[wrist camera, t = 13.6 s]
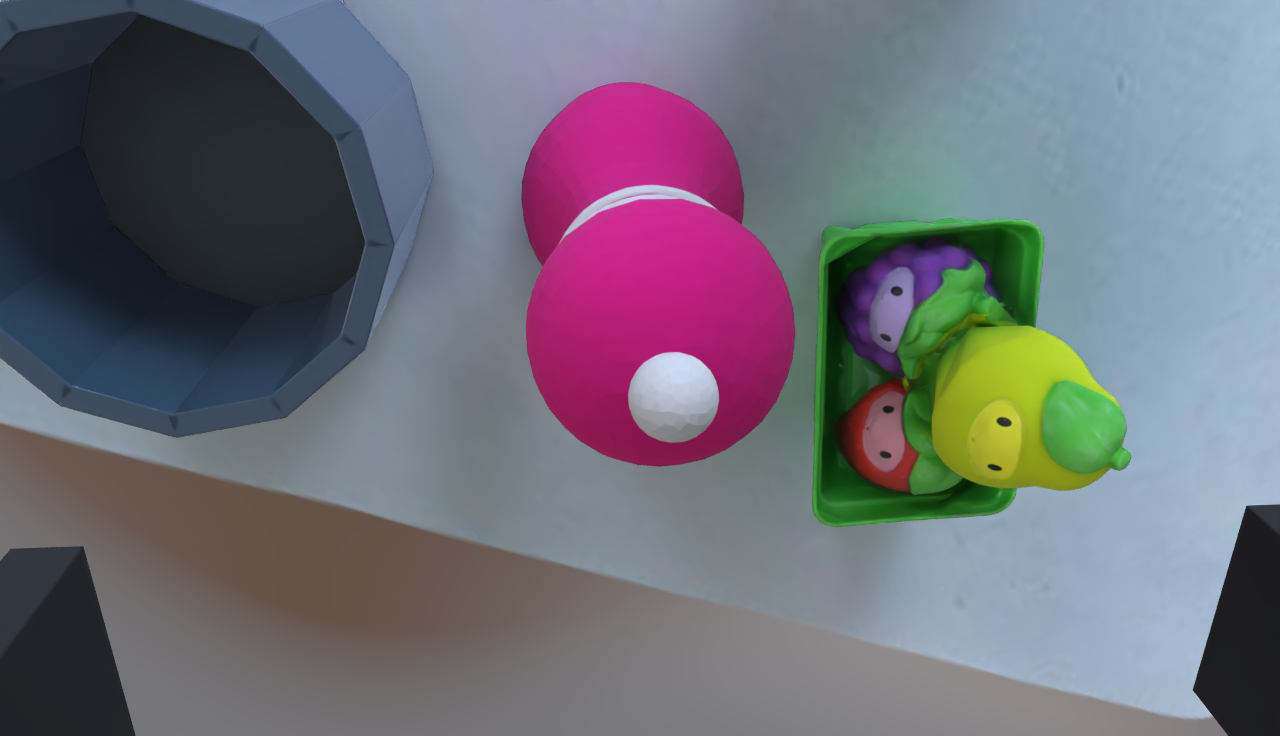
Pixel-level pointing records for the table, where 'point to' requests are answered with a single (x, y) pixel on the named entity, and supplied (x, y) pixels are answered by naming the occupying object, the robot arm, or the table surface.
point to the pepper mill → (649, 281)
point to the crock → (129, 280)
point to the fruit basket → (946, 377)
